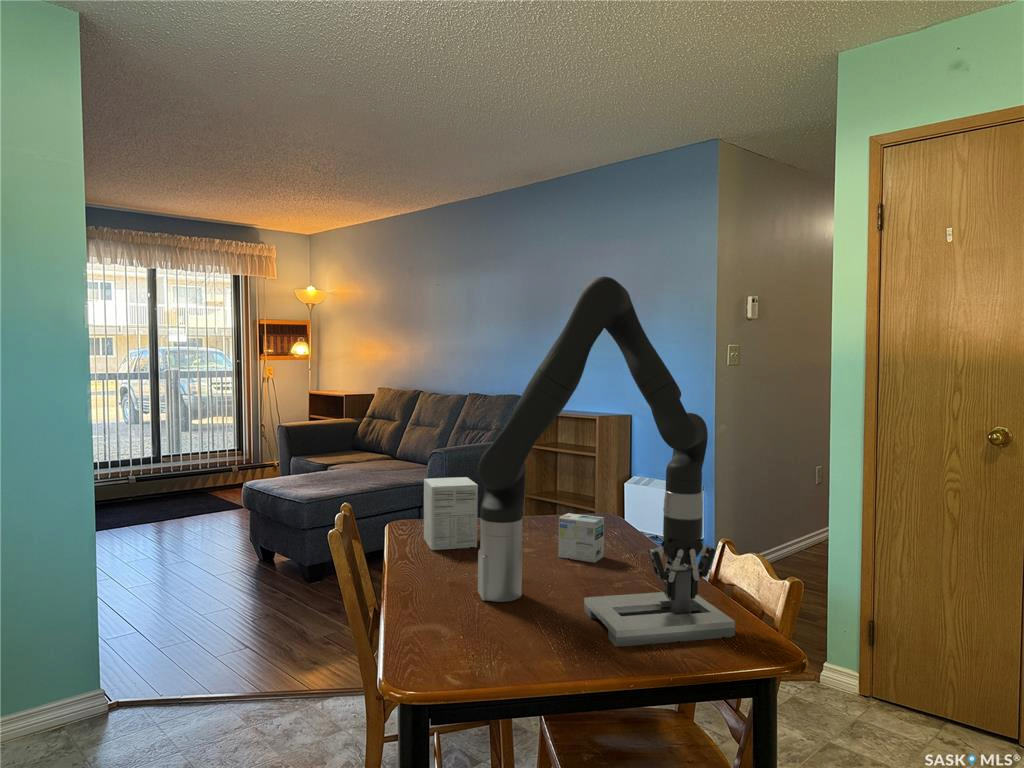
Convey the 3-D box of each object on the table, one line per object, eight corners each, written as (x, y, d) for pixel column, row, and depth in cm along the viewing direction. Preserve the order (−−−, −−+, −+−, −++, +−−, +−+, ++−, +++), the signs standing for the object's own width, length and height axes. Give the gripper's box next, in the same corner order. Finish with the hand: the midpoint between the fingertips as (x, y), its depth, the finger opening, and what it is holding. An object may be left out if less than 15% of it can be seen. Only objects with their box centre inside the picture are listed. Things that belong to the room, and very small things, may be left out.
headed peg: (672, 628, 138) (674, 575, 137) (659, 616, 144) (660, 566, 143) (700, 626, 139) (702, 573, 139) (686, 615, 145) (688, 564, 145)
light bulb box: (604, 557, 186) (605, 516, 186) (595, 563, 180) (596, 521, 180) (567, 551, 191) (567, 512, 191) (557, 557, 185) (557, 516, 185)
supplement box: (478, 547, 194) (478, 484, 193) (430, 551, 190) (431, 486, 189) (467, 535, 206) (468, 476, 206) (422, 538, 203) (423, 478, 202)
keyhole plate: (616, 646, 129) (616, 630, 129) (584, 611, 146) (584, 597, 146) (734, 636, 134) (735, 621, 134) (690, 603, 152) (690, 590, 152)
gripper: (657, 519, 135) (655, 607, 136) (724, 516, 138) (722, 602, 139) (642, 510, 143) (640, 594, 143) (706, 508, 146) (703, 590, 147)
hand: (680, 597), depth 141 cm, fingers closed on headed peg, 4 cm apart
